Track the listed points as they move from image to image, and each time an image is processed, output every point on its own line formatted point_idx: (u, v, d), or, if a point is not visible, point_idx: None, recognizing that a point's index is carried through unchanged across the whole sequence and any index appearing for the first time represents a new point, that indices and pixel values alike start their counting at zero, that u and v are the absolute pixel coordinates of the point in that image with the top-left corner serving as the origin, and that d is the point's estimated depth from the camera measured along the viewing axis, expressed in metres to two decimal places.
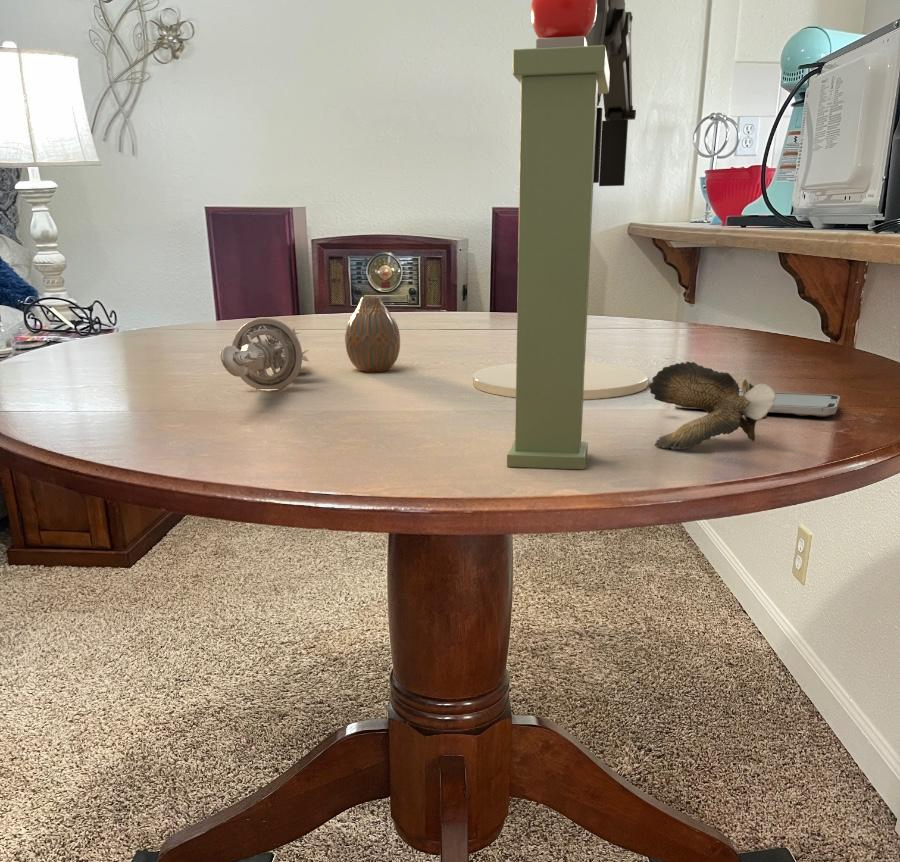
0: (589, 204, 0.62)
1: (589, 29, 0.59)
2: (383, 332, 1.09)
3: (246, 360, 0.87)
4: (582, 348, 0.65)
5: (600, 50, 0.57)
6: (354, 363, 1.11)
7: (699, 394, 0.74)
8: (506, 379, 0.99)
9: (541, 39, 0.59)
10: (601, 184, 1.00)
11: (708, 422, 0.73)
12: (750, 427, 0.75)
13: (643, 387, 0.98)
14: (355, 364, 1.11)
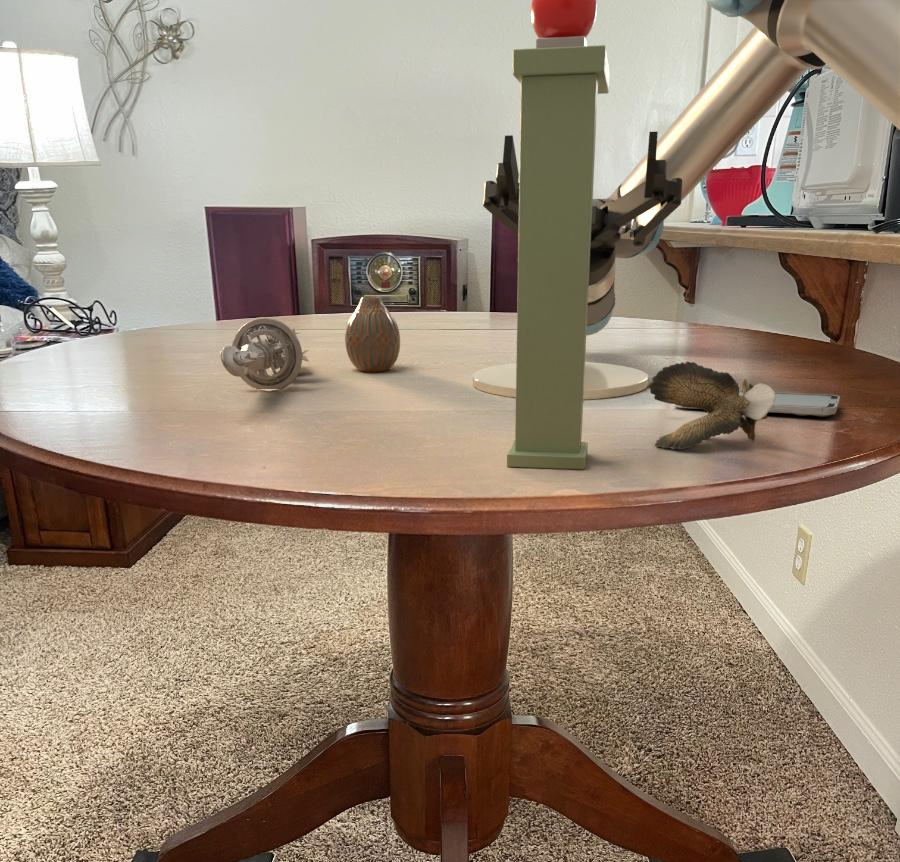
0: (589, 204, 0.62)
1: (589, 29, 0.59)
2: (383, 332, 1.09)
3: (246, 360, 0.87)
4: (582, 348, 0.65)
5: (600, 50, 0.57)
6: (354, 363, 1.11)
7: (699, 394, 0.74)
8: (506, 379, 0.99)
9: (541, 39, 0.59)
10: (647, 157, 0.83)
11: (708, 422, 0.73)
12: (750, 427, 0.75)
13: (643, 387, 0.98)
14: (355, 364, 1.11)
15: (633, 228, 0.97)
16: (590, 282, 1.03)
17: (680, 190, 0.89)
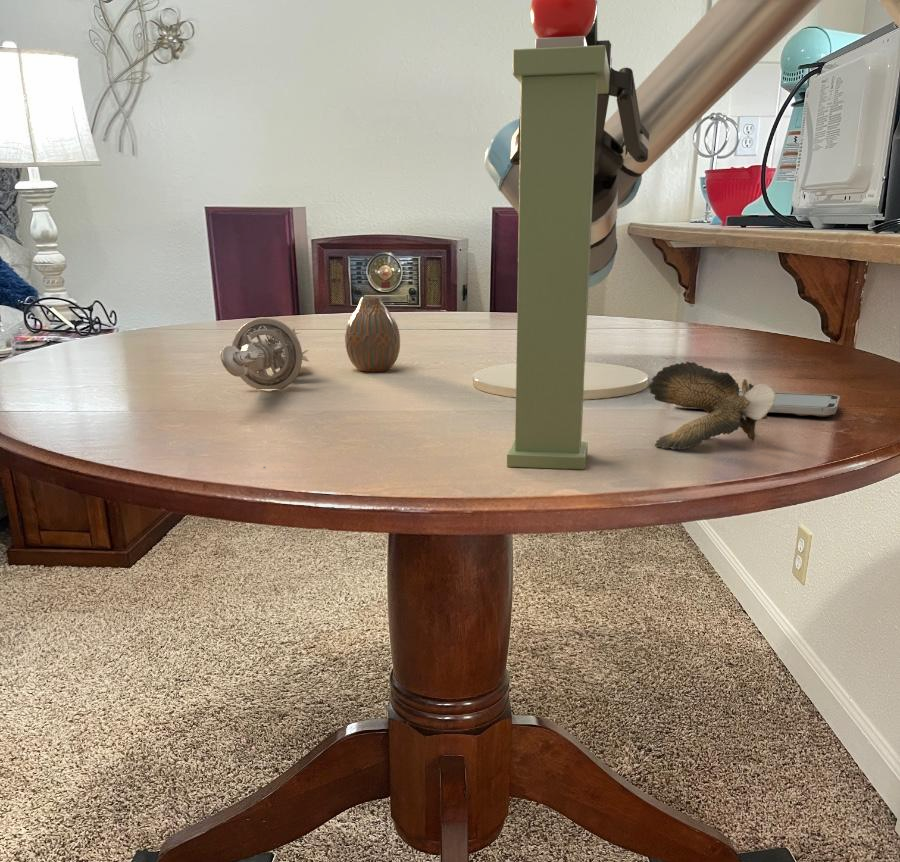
0: (589, 204, 0.62)
1: (589, 29, 0.59)
2: (383, 332, 1.09)
3: (246, 360, 0.87)
4: (582, 348, 0.65)
5: (600, 50, 0.57)
6: (354, 363, 1.11)
7: (699, 394, 0.74)
8: (506, 379, 0.99)
9: (541, 39, 0.59)
10: None
11: (708, 422, 0.73)
12: (750, 427, 0.75)
13: (643, 387, 0.98)
14: (355, 364, 1.11)
15: None
16: None
17: (626, 81, 0.74)
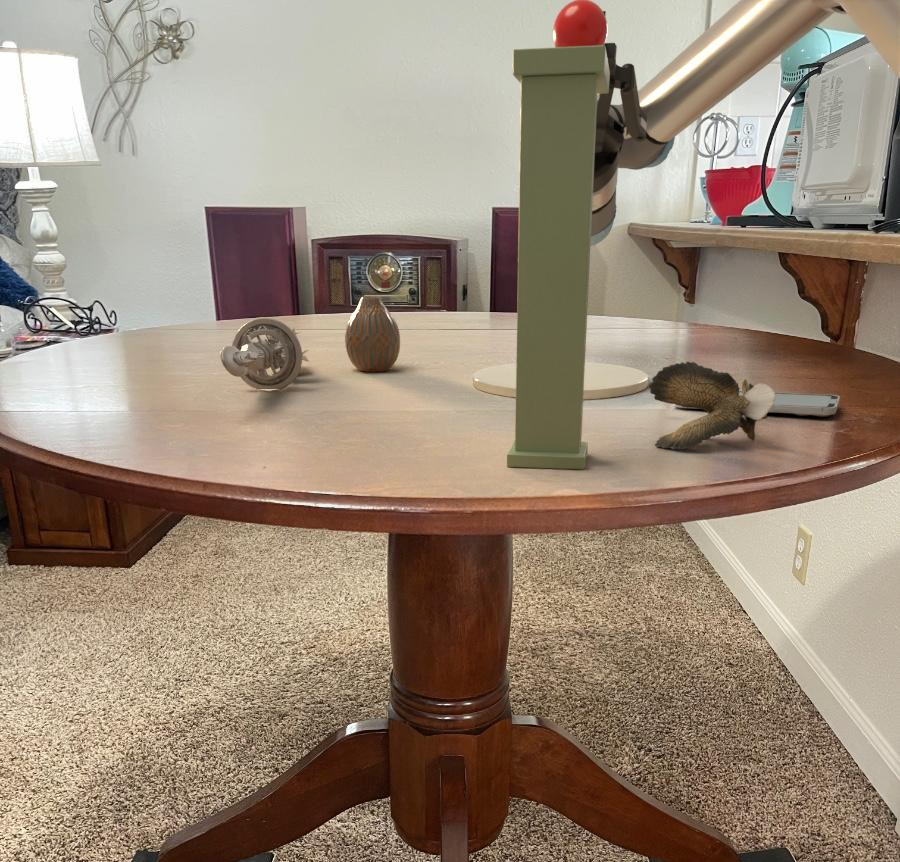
0: (589, 204, 0.62)
1: None
2: (383, 332, 1.09)
3: (246, 360, 0.87)
4: (582, 348, 0.65)
5: (600, 50, 0.57)
6: (354, 363, 1.11)
7: (699, 394, 0.74)
8: (506, 379, 0.99)
9: None
10: None
11: (708, 422, 0.73)
12: (750, 427, 0.75)
13: (643, 387, 0.98)
14: (355, 364, 1.11)
15: None
16: (593, 189, 1.02)
17: (628, 76, 0.87)
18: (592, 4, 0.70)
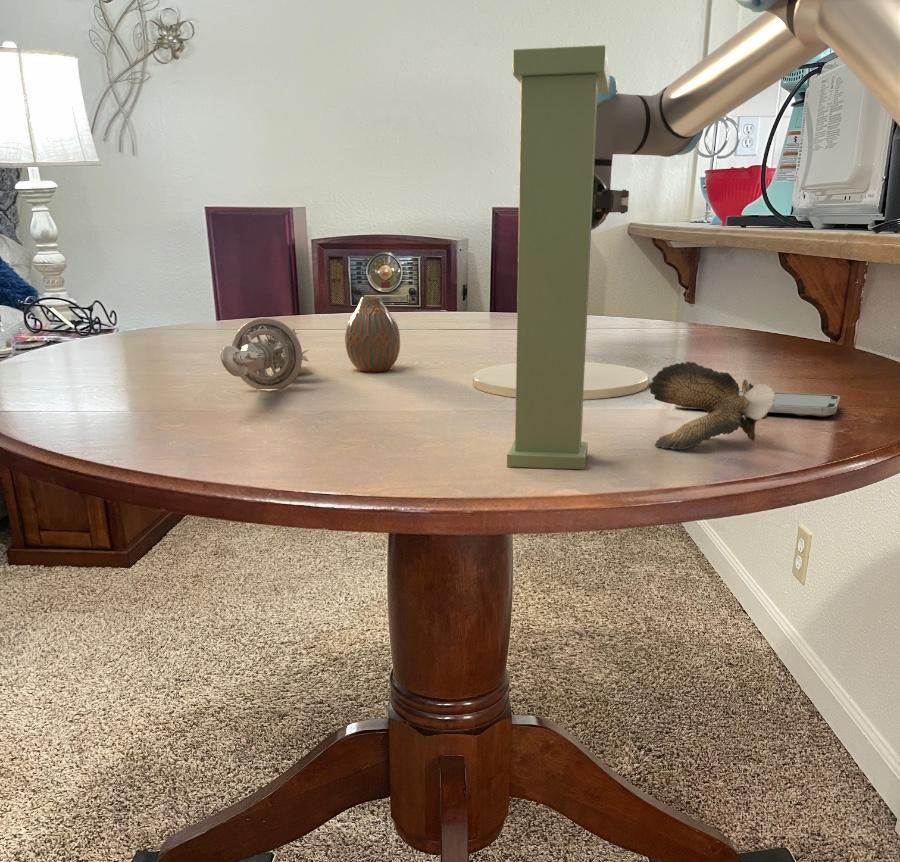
0: (589, 204, 0.62)
1: None
2: (383, 332, 1.09)
3: (246, 360, 0.87)
4: (582, 348, 0.65)
5: (600, 50, 0.57)
6: (354, 363, 1.11)
7: (699, 394, 0.74)
8: (506, 379, 0.99)
9: None
10: None
11: (708, 422, 0.73)
12: (750, 427, 0.75)
13: (643, 387, 0.98)
14: (355, 364, 1.11)
15: None
16: None
17: (608, 201, 1.03)
18: None
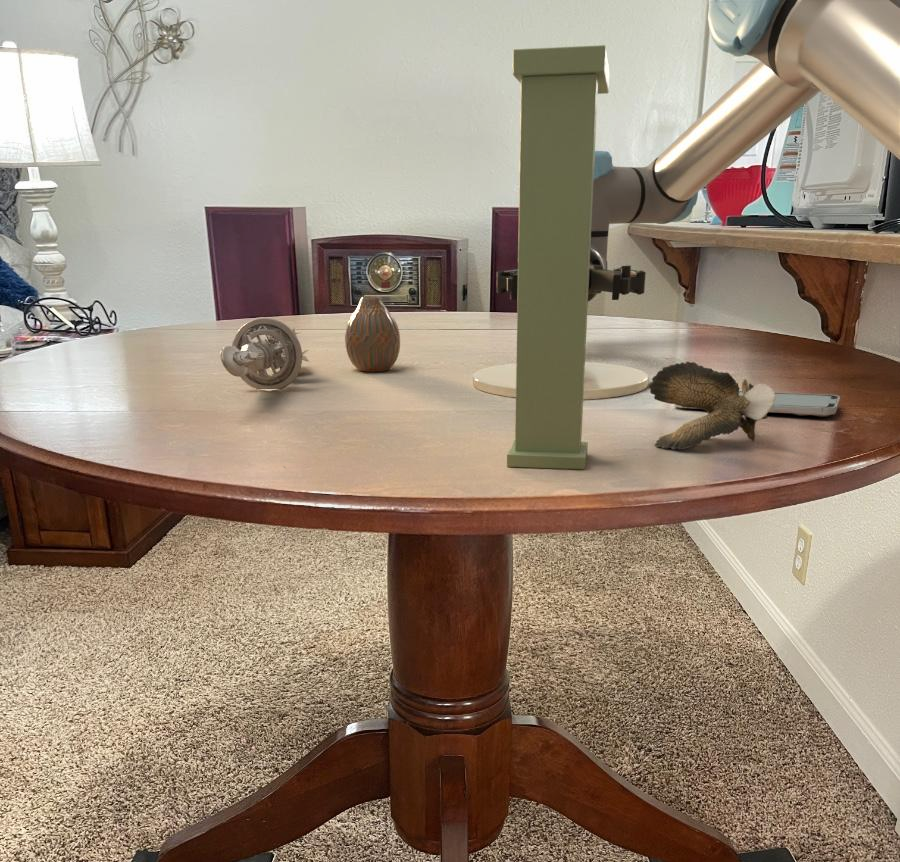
0: (589, 204, 0.62)
1: None
2: (383, 332, 1.09)
3: (246, 360, 0.87)
4: (582, 348, 0.65)
5: (600, 50, 0.57)
6: (354, 363, 1.11)
7: (699, 394, 0.74)
8: (506, 379, 0.99)
9: None
10: (612, 297, 1.01)
11: (708, 422, 0.73)
12: (750, 427, 0.75)
13: (643, 387, 0.98)
14: (355, 364, 1.11)
15: None
16: None
17: (643, 283, 1.07)
18: None
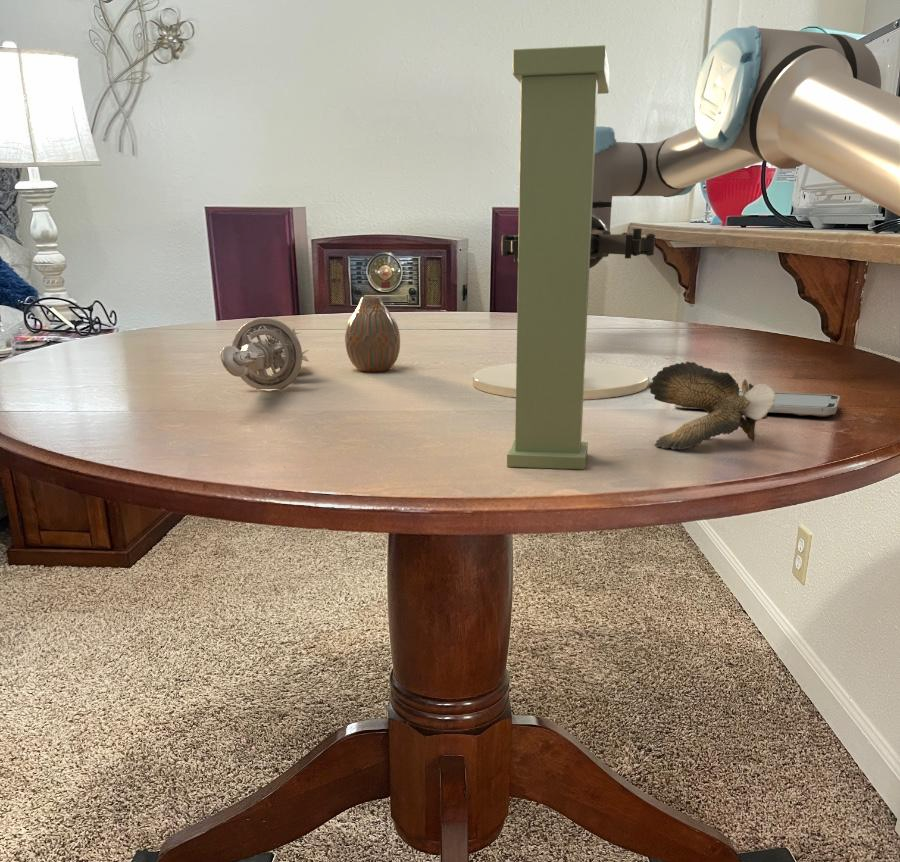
0: (589, 204, 0.62)
1: None
2: (383, 332, 1.09)
3: (246, 360, 0.87)
4: (582, 348, 0.65)
5: (600, 50, 0.57)
6: (354, 363, 1.11)
7: (699, 394, 0.74)
8: (506, 379, 0.99)
9: None
10: None
11: (708, 422, 0.73)
12: (750, 427, 0.75)
13: (643, 387, 0.98)
14: (355, 364, 1.11)
15: None
16: None
17: (653, 245, 1.16)
18: None
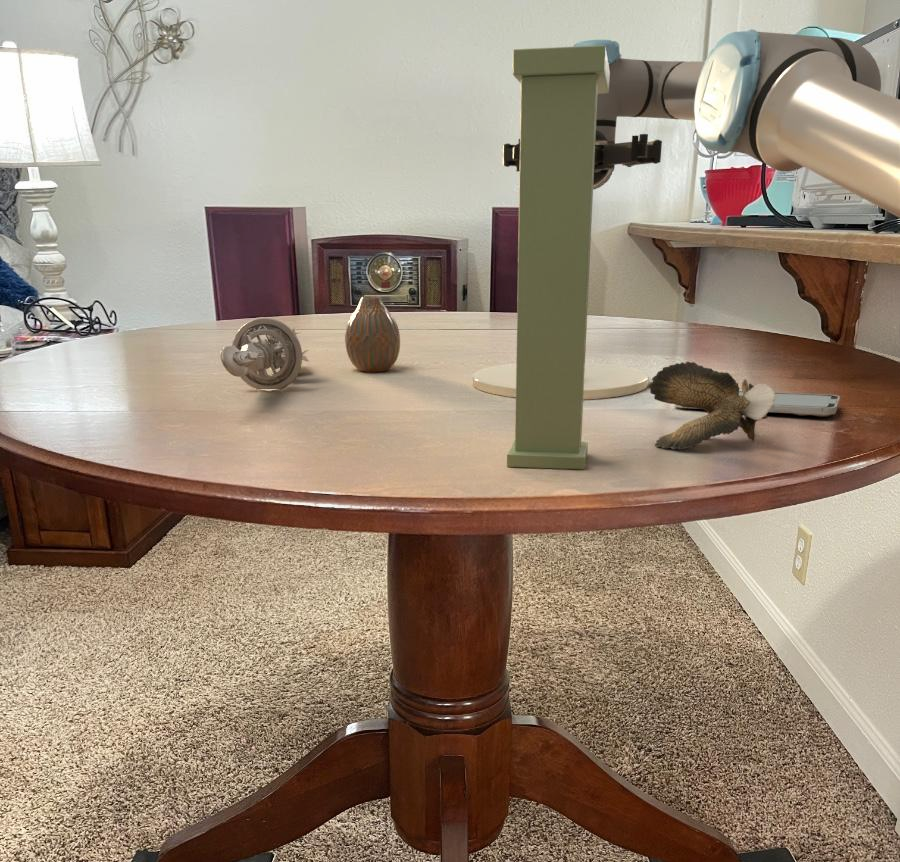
0: (589, 204, 0.62)
1: None
2: (383, 332, 1.09)
3: (246, 360, 0.87)
4: (582, 348, 0.65)
5: (600, 50, 0.57)
6: (354, 363, 1.11)
7: (699, 394, 0.74)
8: (506, 379, 0.99)
9: None
10: (630, 158, 1.07)
11: (708, 422, 0.73)
12: (750, 427, 0.75)
13: (643, 387, 0.98)
14: (355, 364, 1.11)
15: None
16: None
17: (659, 151, 1.12)
18: None
